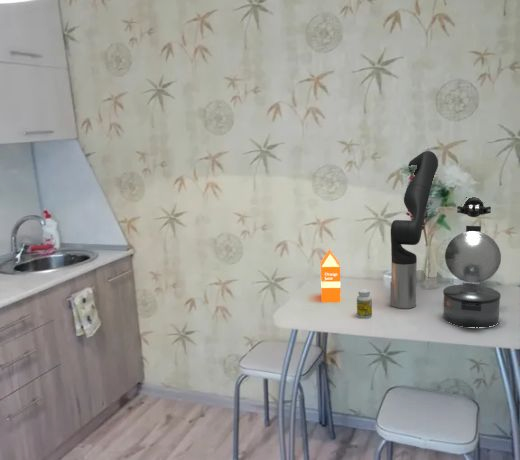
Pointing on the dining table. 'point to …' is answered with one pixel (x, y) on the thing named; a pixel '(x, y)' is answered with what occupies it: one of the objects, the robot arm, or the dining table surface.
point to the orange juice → (330, 278)
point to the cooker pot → (471, 305)
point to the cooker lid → (473, 256)
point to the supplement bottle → (364, 304)
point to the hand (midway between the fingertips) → (473, 213)
